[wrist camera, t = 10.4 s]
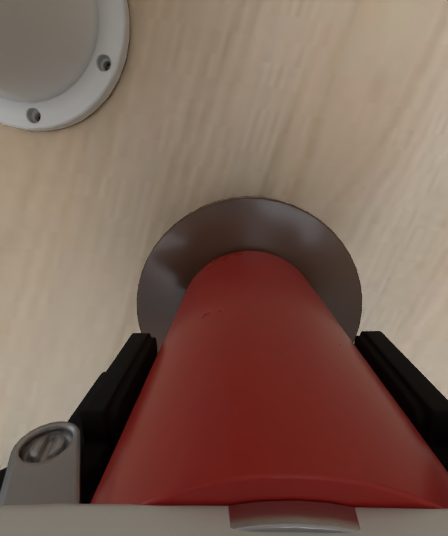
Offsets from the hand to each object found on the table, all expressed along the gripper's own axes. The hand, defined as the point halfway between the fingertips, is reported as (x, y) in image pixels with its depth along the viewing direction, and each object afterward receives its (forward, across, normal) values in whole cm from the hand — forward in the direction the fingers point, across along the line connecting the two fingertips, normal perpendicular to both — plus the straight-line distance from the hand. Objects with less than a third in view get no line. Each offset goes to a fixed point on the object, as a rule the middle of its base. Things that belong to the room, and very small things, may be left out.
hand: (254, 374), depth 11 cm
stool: (+13, 0, 0) cm, 13 cm away
